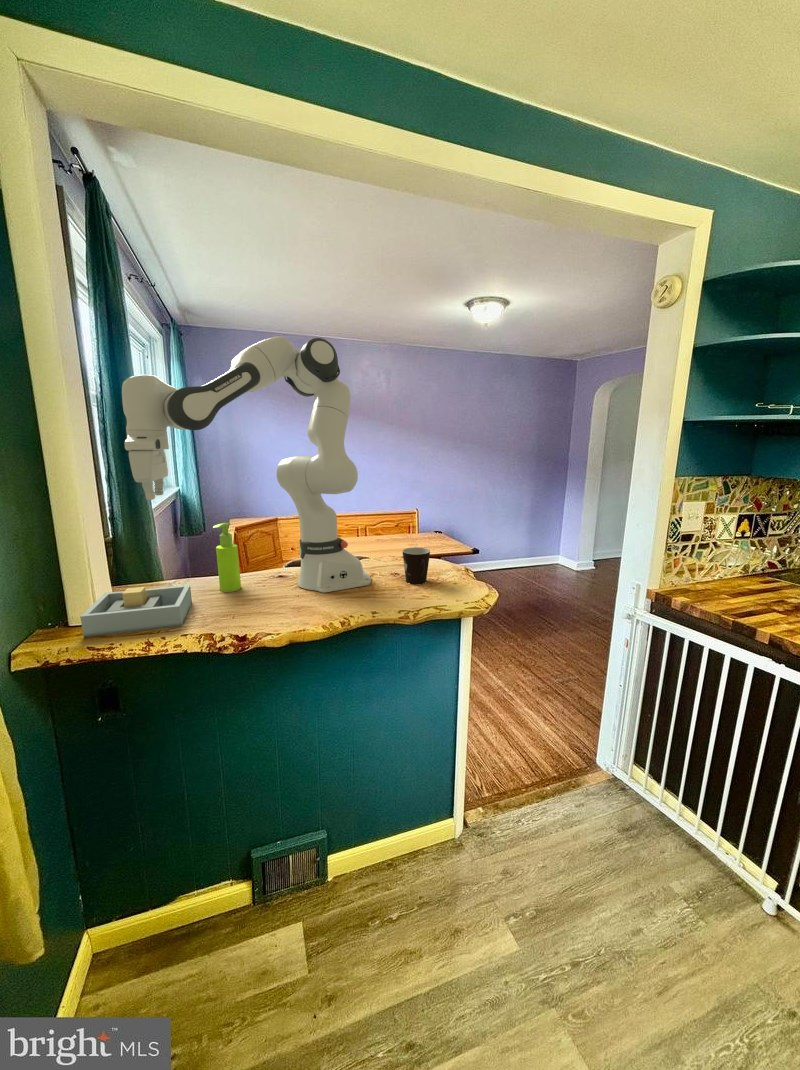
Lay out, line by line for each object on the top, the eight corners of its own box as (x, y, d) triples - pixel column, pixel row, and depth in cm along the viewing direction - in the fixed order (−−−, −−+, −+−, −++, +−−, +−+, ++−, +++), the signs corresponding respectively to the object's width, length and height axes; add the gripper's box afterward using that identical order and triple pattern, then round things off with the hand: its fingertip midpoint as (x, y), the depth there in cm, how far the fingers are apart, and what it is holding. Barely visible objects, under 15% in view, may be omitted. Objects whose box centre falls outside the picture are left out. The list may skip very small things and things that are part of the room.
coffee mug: (404, 576, 138) (404, 547, 136) (430, 577, 137) (431, 547, 135) (399, 588, 127) (399, 556, 125) (427, 589, 126) (428, 557, 124)
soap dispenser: (213, 591, 125) (206, 525, 121) (229, 584, 131) (223, 520, 127) (229, 593, 123) (222, 526, 119) (245, 586, 129) (239, 522, 125)
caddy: (192, 602, 116) (190, 585, 115) (181, 625, 102) (179, 606, 100) (107, 611, 111) (105, 592, 110) (83, 637, 96) (80, 616, 95)
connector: (147, 608, 111) (144, 586, 109) (143, 614, 107) (140, 591, 106) (130, 610, 109) (127, 588, 108) (125, 616, 106) (122, 593, 104)
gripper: (145, 442, 116) (151, 493, 119) (121, 442, 97) (130, 502, 100) (170, 442, 117) (176, 492, 120) (152, 442, 98) (160, 501, 101)
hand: (155, 497), depth 110 cm, fingers open, 8 cm apart
